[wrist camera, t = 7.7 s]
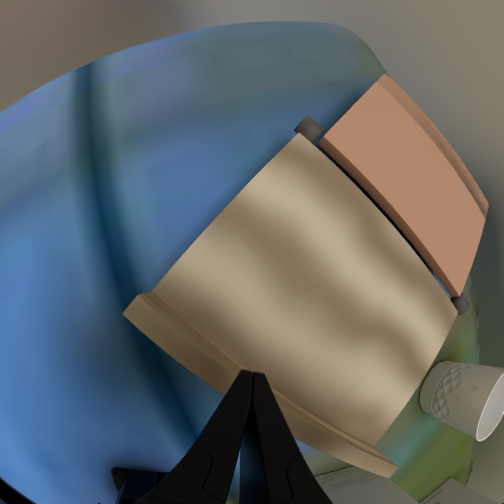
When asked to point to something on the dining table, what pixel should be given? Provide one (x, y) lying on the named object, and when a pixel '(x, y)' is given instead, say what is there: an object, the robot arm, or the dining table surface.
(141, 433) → the dining table surface
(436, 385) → the white cup
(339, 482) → the supplement box
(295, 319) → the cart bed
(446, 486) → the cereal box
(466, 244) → the panel
